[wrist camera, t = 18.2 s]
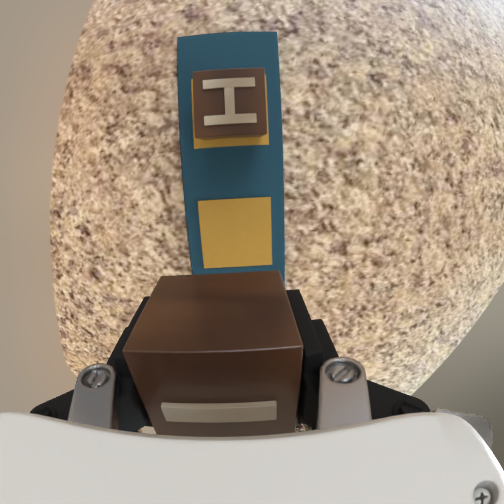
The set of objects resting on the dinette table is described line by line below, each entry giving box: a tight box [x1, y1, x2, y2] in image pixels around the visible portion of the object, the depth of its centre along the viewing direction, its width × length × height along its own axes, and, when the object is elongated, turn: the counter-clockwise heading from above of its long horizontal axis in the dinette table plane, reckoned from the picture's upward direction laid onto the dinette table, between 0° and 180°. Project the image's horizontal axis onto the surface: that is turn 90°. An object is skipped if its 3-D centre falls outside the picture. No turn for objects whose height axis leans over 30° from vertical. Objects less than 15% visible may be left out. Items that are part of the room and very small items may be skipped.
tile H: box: [193, 68, 267, 140], centre depth 18 cm, size 4×4×5 cm
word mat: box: [178, 32, 285, 286], centre depth 23 cm, size 8×24×1 cm, turn 2°
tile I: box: [123, 270, 303, 437], centre depth 9 cm, size 4×4×5 cm
